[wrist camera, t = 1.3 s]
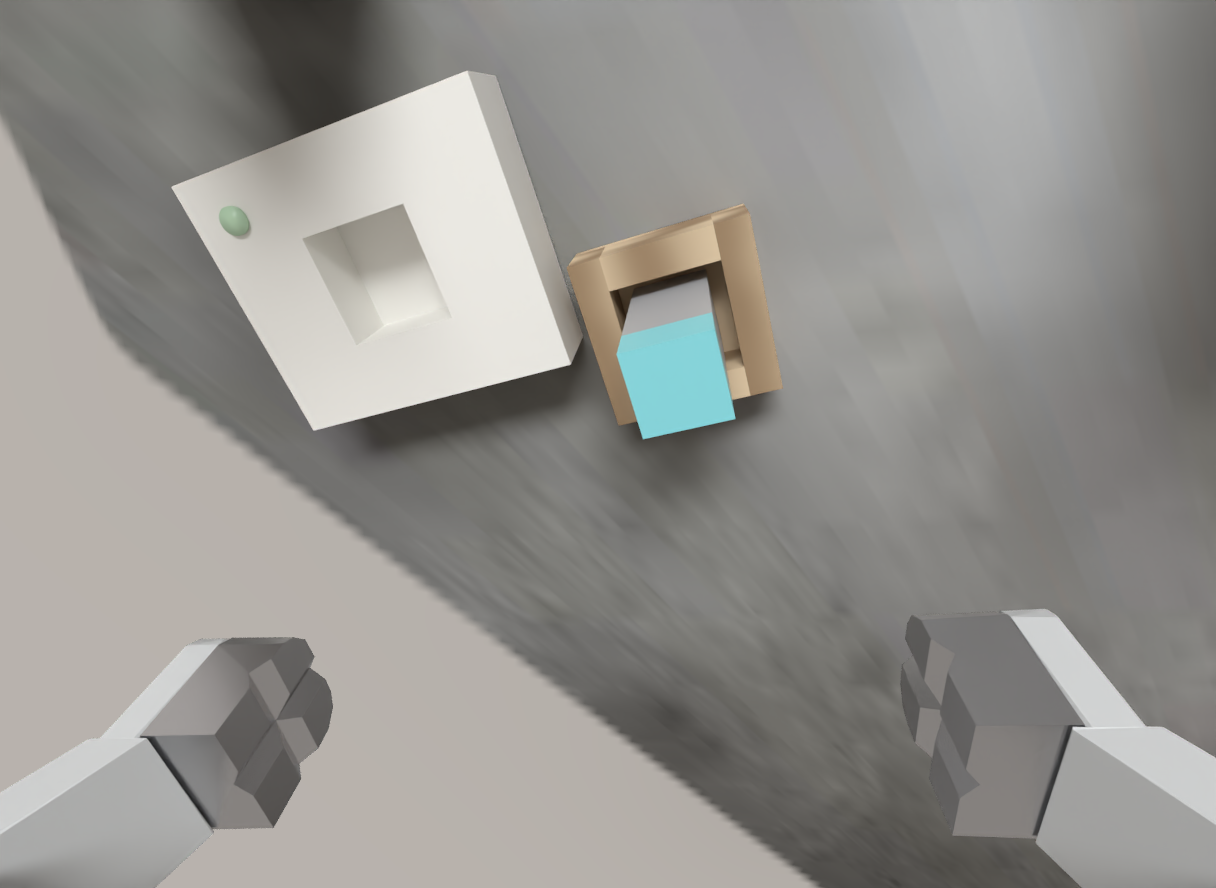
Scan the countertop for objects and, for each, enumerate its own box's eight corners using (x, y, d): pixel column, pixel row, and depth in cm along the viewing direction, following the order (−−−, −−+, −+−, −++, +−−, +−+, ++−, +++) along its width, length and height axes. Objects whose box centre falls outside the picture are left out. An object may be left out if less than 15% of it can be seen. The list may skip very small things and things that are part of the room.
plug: (705, 268, 28) (714, 329, 21) (721, 337, 30) (735, 418, 22) (633, 288, 29) (616, 354, 21) (652, 355, 31) (642, 439, 23)
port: (495, 75, 26) (465, 70, 22) (583, 335, 31) (570, 366, 28) (231, 177, 29) (167, 187, 26) (350, 398, 34) (311, 432, 31)
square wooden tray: (743, 203, 27) (749, 213, 25) (774, 364, 31) (783, 388, 28) (576, 253, 29) (566, 267, 27) (623, 400, 33) (618, 425, 30)
